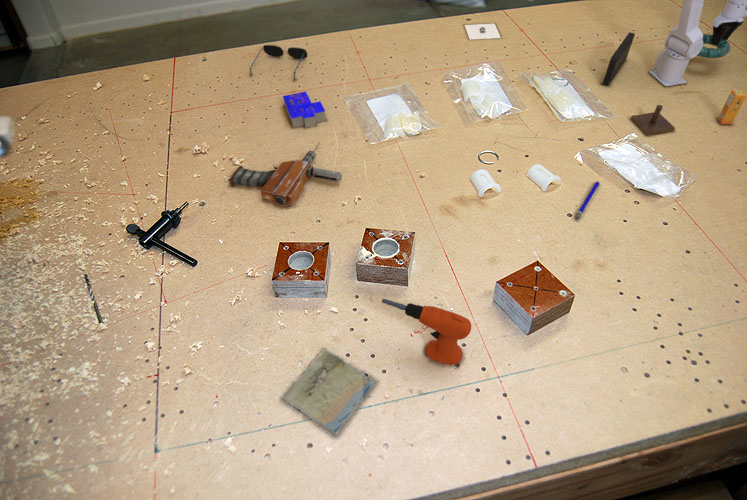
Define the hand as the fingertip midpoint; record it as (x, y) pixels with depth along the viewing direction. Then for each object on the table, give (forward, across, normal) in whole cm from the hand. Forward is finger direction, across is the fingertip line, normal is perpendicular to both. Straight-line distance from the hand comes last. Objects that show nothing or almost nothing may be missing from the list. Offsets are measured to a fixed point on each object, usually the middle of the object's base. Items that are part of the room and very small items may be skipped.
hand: (718, 42), depth 177 cm
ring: (0, -5, 0) cm, 5 cm away
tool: (+9, -149, +20) cm, 150 cm away
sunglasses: (+8, -130, +78) cm, 152 cm away
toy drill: (+9, -147, -47) cm, 155 cm away
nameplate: (+8, -31, +13) cm, 35 cm away
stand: (+8, -45, -16) cm, 48 cm away
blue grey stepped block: (+9, -134, +46) cm, 142 cm away
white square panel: (+8, -52, +61) cm, 81 cm away
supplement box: (+8, -25, -26) cm, 36 cm away
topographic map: (+9, -169, -46) cm, 175 cm away
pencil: (+8, -85, -31) cm, 91 cm away
